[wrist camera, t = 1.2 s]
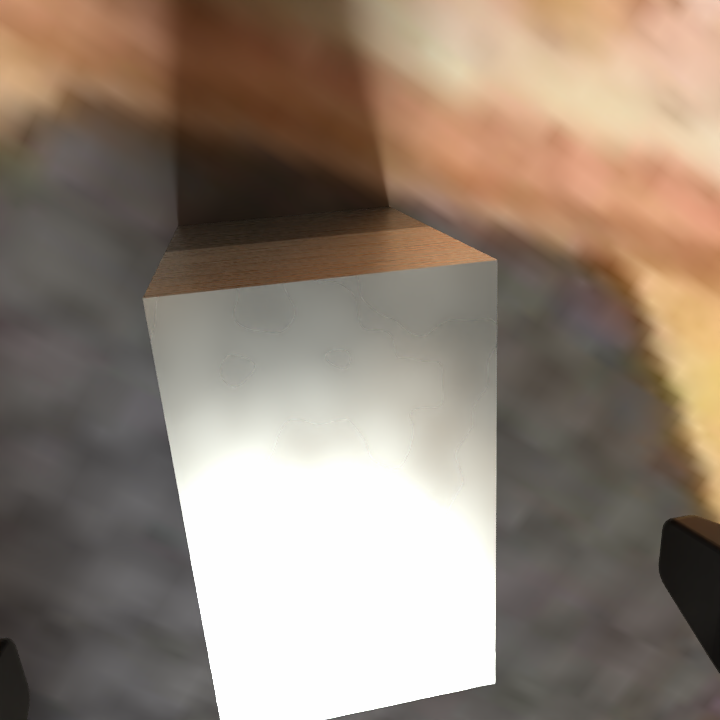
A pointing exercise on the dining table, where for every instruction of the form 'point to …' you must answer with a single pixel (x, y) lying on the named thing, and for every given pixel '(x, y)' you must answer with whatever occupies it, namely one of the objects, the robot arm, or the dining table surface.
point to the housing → (333, 456)
